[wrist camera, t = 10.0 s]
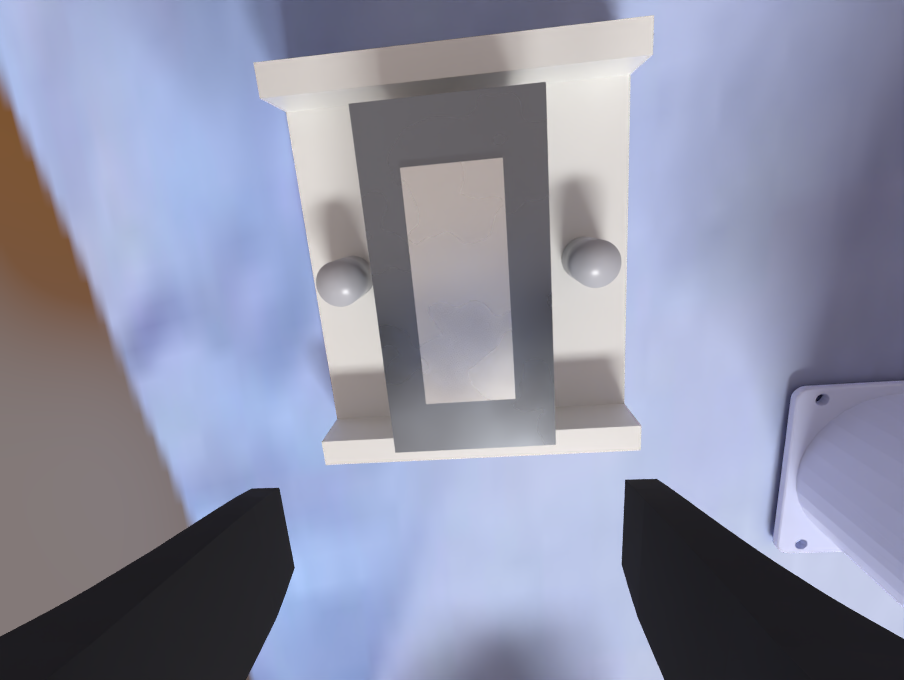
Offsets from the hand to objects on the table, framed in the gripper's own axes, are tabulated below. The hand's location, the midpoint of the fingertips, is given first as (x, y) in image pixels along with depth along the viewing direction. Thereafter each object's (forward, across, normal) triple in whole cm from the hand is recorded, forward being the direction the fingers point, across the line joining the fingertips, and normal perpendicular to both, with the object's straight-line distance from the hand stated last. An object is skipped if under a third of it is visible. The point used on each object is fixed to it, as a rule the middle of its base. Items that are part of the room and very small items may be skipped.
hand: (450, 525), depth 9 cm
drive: (+9, 0, -4) cm, 10 cm away
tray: (+10, 0, -4) cm, 11 cm away
